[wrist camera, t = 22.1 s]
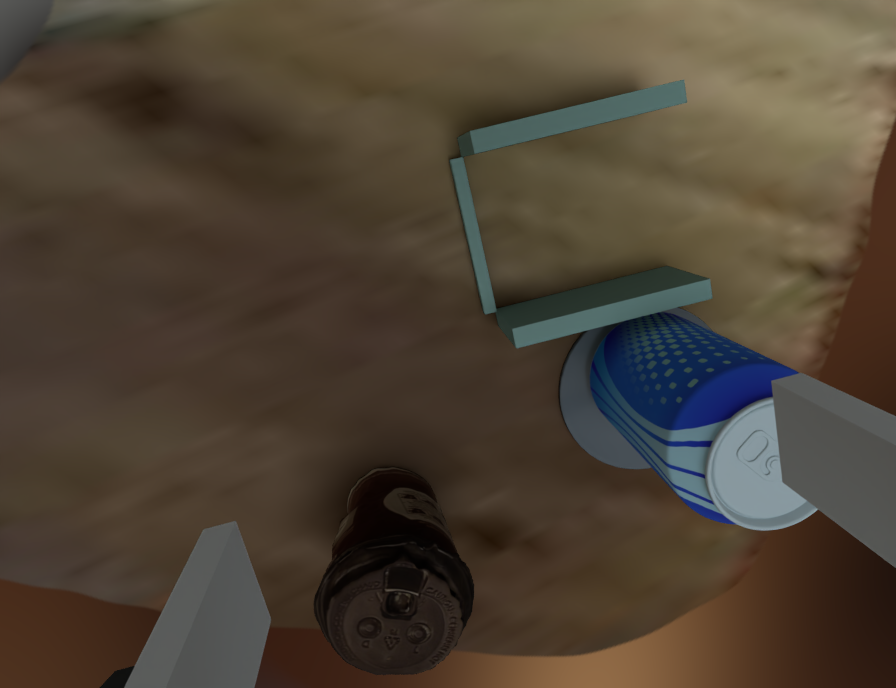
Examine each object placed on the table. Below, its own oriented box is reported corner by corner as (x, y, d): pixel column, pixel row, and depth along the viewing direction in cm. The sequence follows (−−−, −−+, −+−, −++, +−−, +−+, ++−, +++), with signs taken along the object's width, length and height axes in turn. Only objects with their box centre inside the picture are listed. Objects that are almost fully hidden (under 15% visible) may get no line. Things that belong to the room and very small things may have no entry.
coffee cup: (402, 425, 45) (410, 519, 33) (477, 506, 48) (512, 624, 35) (307, 503, 46) (279, 624, 34) (385, 580, 48) (386, 721, 36)
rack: (444, 140, 41) (455, 134, 35) (641, 93, 42) (684, 79, 36) (486, 329, 44) (503, 351, 39) (669, 283, 45) (712, 298, 39)
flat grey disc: (543, 326, 45) (545, 328, 44) (713, 283, 45) (717, 285, 45) (575, 483, 48) (577, 487, 47) (733, 442, 48) (737, 445, 48)
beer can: (694, 295, 45) (859, 357, 29) (708, 409, 47) (869, 524, 31) (574, 323, 44) (676, 403, 29) (594, 437, 46) (699, 567, 31)
